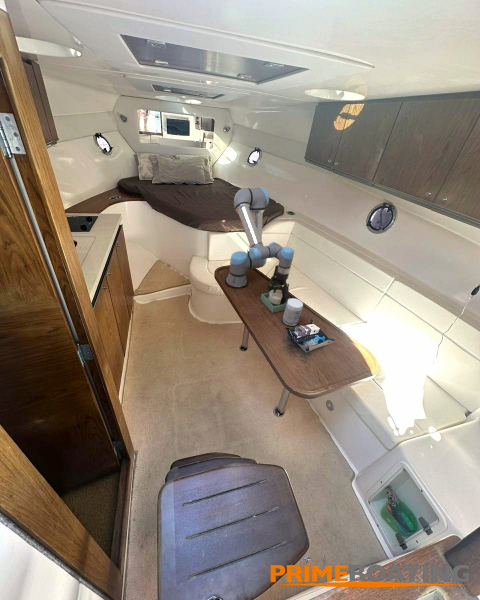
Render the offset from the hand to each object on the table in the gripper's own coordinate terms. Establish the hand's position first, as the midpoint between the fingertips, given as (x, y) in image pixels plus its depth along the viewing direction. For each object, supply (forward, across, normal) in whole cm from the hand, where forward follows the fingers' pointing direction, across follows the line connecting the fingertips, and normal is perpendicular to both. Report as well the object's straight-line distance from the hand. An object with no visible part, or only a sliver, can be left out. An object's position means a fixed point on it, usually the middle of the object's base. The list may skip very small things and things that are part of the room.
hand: (276, 300), depth 168 cm
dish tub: (+3, 0, 0) cm, 3 cm away
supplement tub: (+3, +18, -2) cm, 19 cm away
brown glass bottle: (+3, -8, +2) cm, 9 cm away
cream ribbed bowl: (0, 0, 0) cm, 0 cm away
